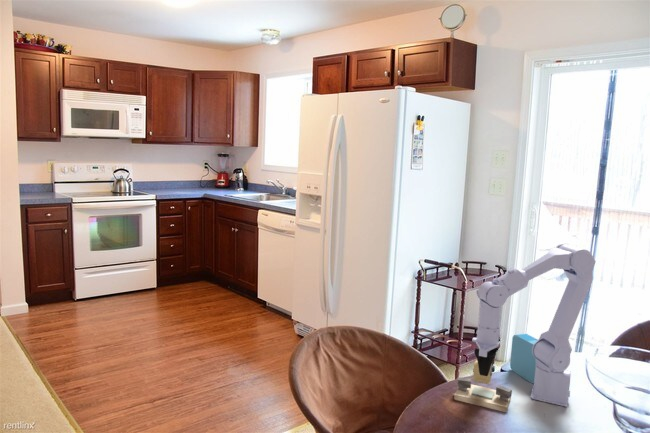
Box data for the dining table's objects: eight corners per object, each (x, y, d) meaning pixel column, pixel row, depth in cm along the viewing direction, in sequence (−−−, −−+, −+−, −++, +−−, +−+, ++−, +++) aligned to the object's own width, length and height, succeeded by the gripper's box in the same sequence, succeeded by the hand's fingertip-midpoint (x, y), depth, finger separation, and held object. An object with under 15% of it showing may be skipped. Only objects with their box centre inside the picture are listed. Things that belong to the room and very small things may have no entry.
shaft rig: (512, 398, 144) (513, 383, 143) (508, 412, 136) (509, 396, 135) (459, 386, 150) (460, 371, 150) (452, 399, 142) (453, 383, 142)
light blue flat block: (547, 384, 154) (551, 346, 153) (534, 385, 153) (538, 347, 151) (520, 367, 166) (524, 332, 164) (509, 369, 164) (512, 333, 163)
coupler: (491, 380, 143) (493, 363, 142) (490, 384, 140) (491, 367, 140) (473, 376, 145) (474, 359, 144) (471, 380, 142) (473, 363, 142)
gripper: (478, 316, 148) (474, 360, 150) (469, 330, 136) (465, 379, 137) (503, 320, 145) (499, 365, 147) (496, 336, 132) (492, 385, 134)
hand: (484, 372), depth 142 cm, fingers closed on coupler, 3 cm apart
